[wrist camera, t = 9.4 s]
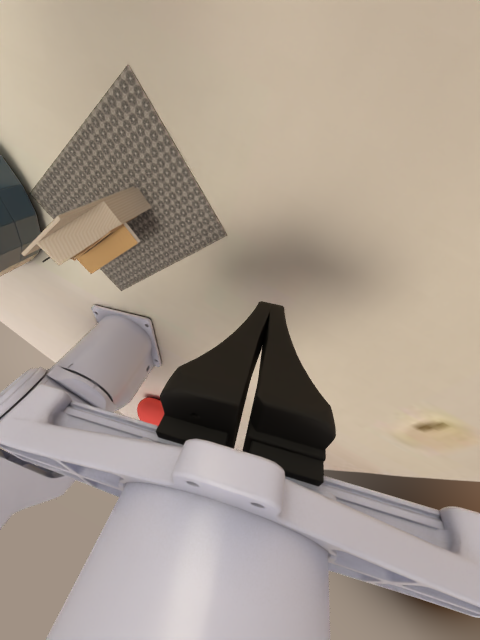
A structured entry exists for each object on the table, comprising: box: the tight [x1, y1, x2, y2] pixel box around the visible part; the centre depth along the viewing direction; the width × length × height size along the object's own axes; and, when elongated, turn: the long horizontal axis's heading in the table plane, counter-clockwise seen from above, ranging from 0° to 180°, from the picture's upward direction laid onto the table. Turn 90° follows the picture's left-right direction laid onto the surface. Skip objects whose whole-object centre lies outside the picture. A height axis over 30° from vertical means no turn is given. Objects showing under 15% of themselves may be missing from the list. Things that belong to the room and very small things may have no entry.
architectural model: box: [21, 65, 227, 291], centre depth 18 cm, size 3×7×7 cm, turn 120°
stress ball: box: [137, 398, 164, 426], centre depth 42 cm, size 5×9×6 cm, turn 41°
